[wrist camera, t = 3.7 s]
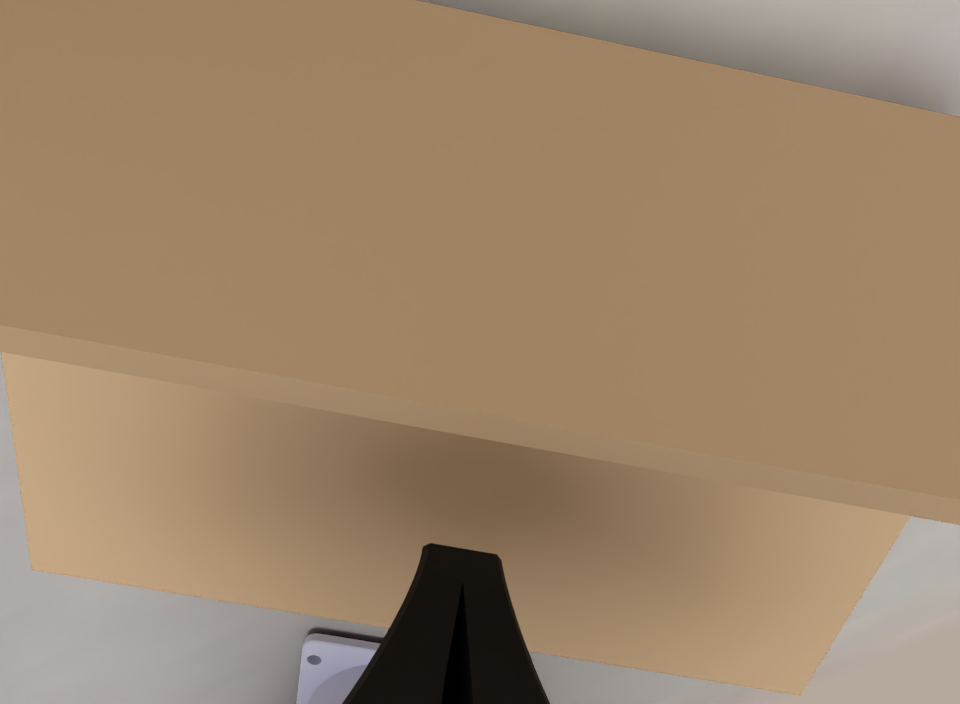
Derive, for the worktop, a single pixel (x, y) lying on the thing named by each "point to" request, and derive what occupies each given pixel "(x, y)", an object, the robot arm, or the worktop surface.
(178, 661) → the worktop surface
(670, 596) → the carton
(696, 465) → the flap
